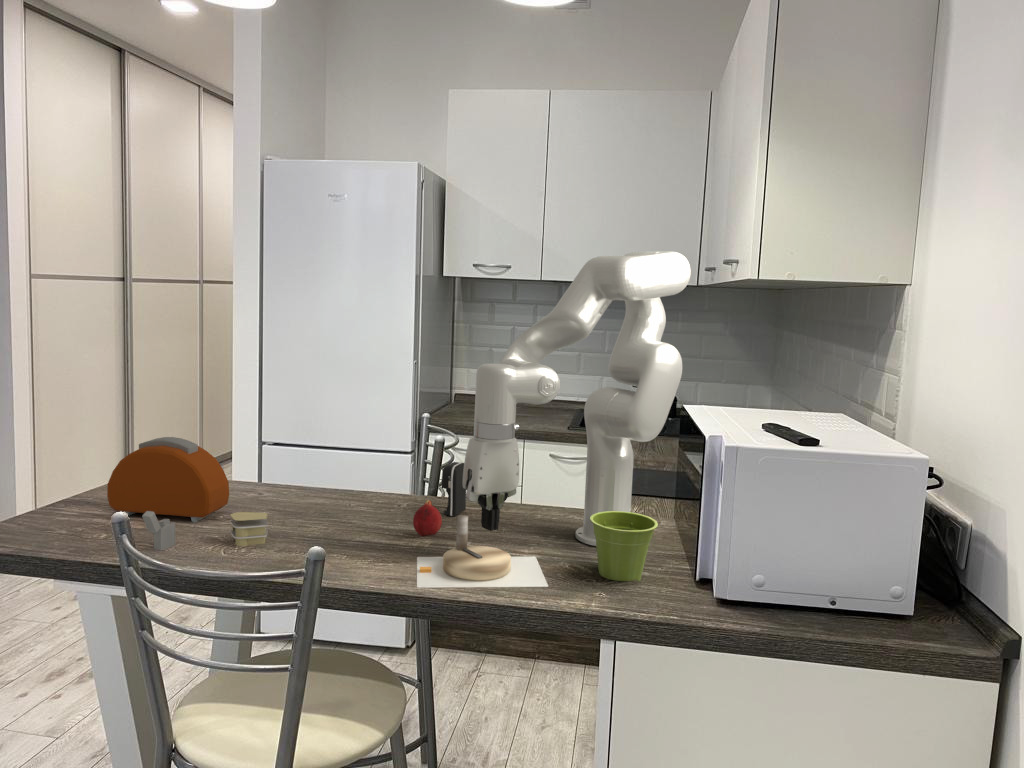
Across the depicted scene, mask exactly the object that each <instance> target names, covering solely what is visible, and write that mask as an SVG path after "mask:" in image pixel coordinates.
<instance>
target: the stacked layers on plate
mask: <svg viewBox="0 0 1024 768" xmlns="http://www.w3.org/2000/svg"><path fill="white" fill-rule="evenodd" d="M268 514H269V513H268V512H254V511H253V512H252V511H251V512H250V511H237V512H233V513H230V516H231V518H232V519H231V520H230V524H231V526H232V530H230V534H231V535H232V537H233V538H234V539H235V546H236V545H237V547H245V546H246V545H247V546H255V545H266V538H267V537H268V536H267V535H268V531H269V530H268V529H267V528H266V527H267V526H268V521H269V520H268V519H267V518H268ZM247 546H246V547H247Z"/></svg>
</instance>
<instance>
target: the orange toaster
mask: <svg viewBox="0 0 1024 768" xmlns="http://www.w3.org/2000/svg"><path fill="white" fill-rule="evenodd" d="M229 483H230V482H229V480H228V477H227V476H226V473H225V471H224V468H223V467H222V466H221V464H220V463H219V461H218V459H217V458H216V457H214V456H213V455H212V454H211V453H210V452H208V451H207V450H205V449H204V448H203V447H201V446H199V445H198V443H195V442H193V441H191V440H188V439H184V438H181V437H176V436H175V437H174V436H165V437H157V438H153V439H151V440H146V441H144V442H141V443H139V444H138V448H137V449H136V450H134V451H132V452H130V453H129V454H127V455H125V456H124V457H123V458H121V459H120V460H119V462H118V464H117V465H115V468H114V469H113V470H112V472H111V475H110V477H109V480H108V482H107V488H106V489H107V492H106V493H107V500H108V505H109V507H111V508H112V509H113V510H114V511H118V512H123V511H125V512H126V513H128V515H129V516H128V517H130V515H131V516H133V515H135V514H138V513H140V514H144V513H145V512H146V511H152V512H154V513H155V515H161V516H162V515H163V516H174V517H175V516H176V517H186V518H187V517H188V518H189V517H190V519H191V522H192V523H197V522H199V521H201V520H203V519H204V517H205V518H206V517H208V516H210V515H212V514H214V513H216V512H217V511H219V510H221V509H222V508H223V507H225V506H226V505H228V502H229V498H230V485H229ZM213 512H214V513H213ZM132 514H133V515H132Z"/></svg>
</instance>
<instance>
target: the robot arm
mask: <svg viewBox="0 0 1024 768" xmlns="http://www.w3.org/2000/svg"><path fill="white" fill-rule="evenodd" d="M691 272H692V271H691V265H690V263H689V260H688V259H687V258H686V256H684V255H683V254H682V253H680V252H677V251H670V250H669V251H666V250H665V251H635V252H629V253H626V254H624V255H605V256H604V255H602V256H596V257H593V258H590V259H589V260H587V262H586V263H584V265H583V266H582V267H581V268H580V270H579V271H578V273H577V275H576V276H575V277H574V279H573V281H572V282H571V283H570V285H569V286H568V288H567V289H566V290H565V292H564V293H563V294H562V297H561V298H560V299H559V300H558V302H557V303H556V305H555V306H554V308H553V309H552V310H551V311H550V312H549V313H548V314H546V315H545V316H544V317H543V316H542V318H540V319H539V320H537V321H536V322H535V323H534V324H533V325H532V326H530V327H529V328H527V329H526V330H525V331H523V332H522V333H520V335H518V337H517V338H515V339H514V341H512V343H511V345H509V347H508V348H507V350H506V351H505V353H504V354H503V355H502V357H501V359H500V361H499V362H498V363H483V364H481V365H479V366H478V367H477V370H476V375H475V376H476V377H475V397H474V399H475V401H474V402H475V403H474V421H473V424H474V425H473V437H470V438H469V440H468V443H467V448H466V452H465V455H464V462H463V463H464V470H463V488H464V489H465V490H466V500H468V501H471V502H476V503H477V504H478V506H479V507H480V508H481V516H480V517H481V519H480V523H481V528H483V529H485V530H487V531H489V532H493V531H498V530H499V524H500V512H501V509H502V508H503V507H504V503H505V501H506V500H508V498H510V497H513V496H515V495H516V494H517V488H518V486H519V481H520V453H519V452H520V451H519V444H518V439H517V438H516V437H515V433H516V432H517V431H519V429H520V426H519V424H518V423H516V416H517V404H522V403H523V404H528V405H529V404H530V405H544V404H545V405H546V404H547V403H550V402H551V401H553V400H554V399H555V398H556V397H557V396H558V394H559V391H560V389H561V380H560V377H559V375H558V373H557V372H556V371H555V369H553V368H551V366H547V365H545V364H541V363H540V362H542V360H544V359H545V358H546V357H547V356H548V355H550V354H552V353H553V352H555V351H557V350H559V349H563V348H565V347H568V346H572V345H574V344H577V343H579V342H581V341H583V340H585V339H586V338H588V337H589V336H590V334H592V331H593V330H594V329H595V327H596V326H597V323H598V322H599V321H600V319H601V318H602V316H603V315H604V313H605V312H606V310H607V309H608V307H609V306H610V304H611V303H613V302H614V301H624V303H625V314H624V319H623V321H622V325H621V328H620V330H619V332H618V335H617V338H616V341H615V343H614V347H613V349H612V352H611V354H610V357H609V361H608V373H609V376H610V377H611V378H612V379H613V380H614V381H616V382H618V383H621V384H624V385H626V386H627V385H628V386H633V387H636V390H635V391H634V390H629V389H623V388H620V387H611V386H610V387H609V386H607V387H606V386H605V387H600V388H598V389H597V388H596V389H595V390H594V391H592V392H591V393H590V394H589V396H588V397H587V398H586V401H585V404H584V409H583V414H584V415H583V417H584V424H585V430H586V438H587V439H586V442H587V443H586V445H587V447H586V448H587V449H586V464H585V465H586V467H585V468H586V469H585V471H586V472H585V491H584V512H583V526H581V527H578V528H577V529H576V530H575V538H576V539H577V540H578V541H579V542H580V543H583V544H586V545H589V546H593V547H596V537H595V534H594V527H593V523H592V522H591V520H590V517H591V516H592V515H593V514H596V513H599V512H605V511H623V512H632V511H631V510H632V509H631V508H632V507H631V506H632V494H633V492H632V491H633V474H634V451H633V446H632V443H631V441H635V442H640V443H644V442H645V443H647V442H651V441H652V440H654V439H655V438H657V437H658V435H659V434H660V433H661V432H662V430H663V428H664V426H665V424H666V422H667V419H668V416H669V414H670V410H671V407H672V405H673V402H674V400H675V396H676V395H677V394H676V393H677V390H678V388H679V385H680V384H681V383H680V382H681V379H682V375H683V358H682V356H681V353H680V352H679V350H678V349H677V348H676V347H675V346H674V345H672V344H670V343H668V342H664V341H661V340H662V338H663V335H664V331H665V328H666V323H667V319H666V318H667V316H666V315H667V314H666V311H665V308H664V307H665V306H664V304H663V302H662V299H661V298H663V297H669V296H675V295H677V294H679V293H681V292H683V290H684V289H685V288H687V286H688V284H689V282H690V279H691Z"/></svg>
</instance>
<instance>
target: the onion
mask: <svg viewBox="0 0 1024 768" xmlns="http://www.w3.org/2000/svg"><path fill="white" fill-rule="evenodd" d="M432 503H433V502H432V501H431V500H429V499H427V500H426V501H425V503H424V504H423V505H422V506H420V507H419V508H418V509H417V510H416V511H415V513H414V515H413V519H412V521H413V522H412V525H413V528H414V531H415V533H417V534H418V535H419V536H420V537H423V538H424V537H426V536H433V535H436V534H437V533H438V532H439V531H440V529H441V528H442V524H443V518H442V515H441V512H440V510H438V509H437V507H435V506H434V505H432Z"/></svg>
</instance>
